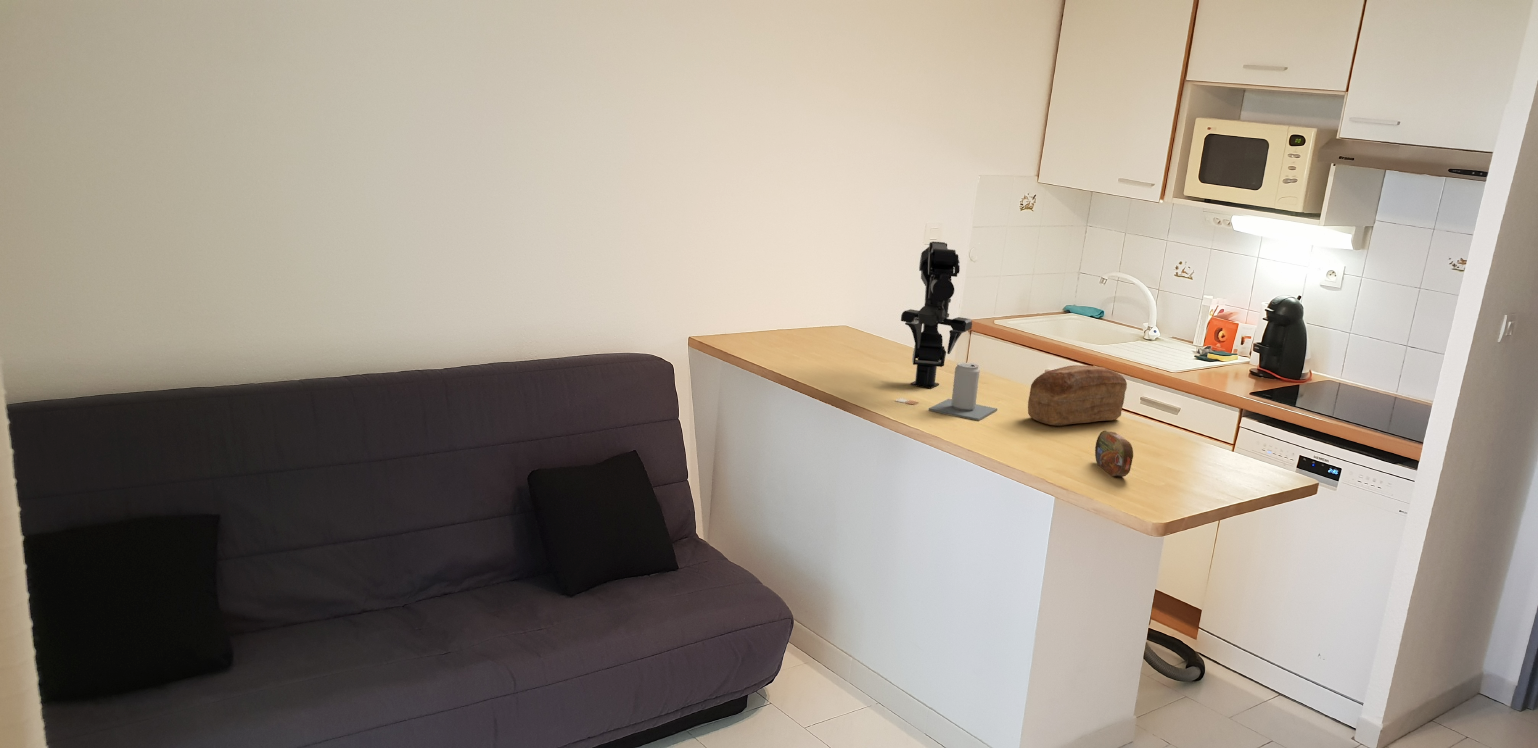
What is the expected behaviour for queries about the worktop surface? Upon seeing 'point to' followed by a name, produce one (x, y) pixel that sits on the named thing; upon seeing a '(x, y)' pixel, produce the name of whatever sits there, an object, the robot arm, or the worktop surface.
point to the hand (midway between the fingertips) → (933, 351)
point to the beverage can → (965, 386)
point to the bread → (1077, 395)
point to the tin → (1113, 453)
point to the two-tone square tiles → (906, 401)
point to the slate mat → (974, 414)
